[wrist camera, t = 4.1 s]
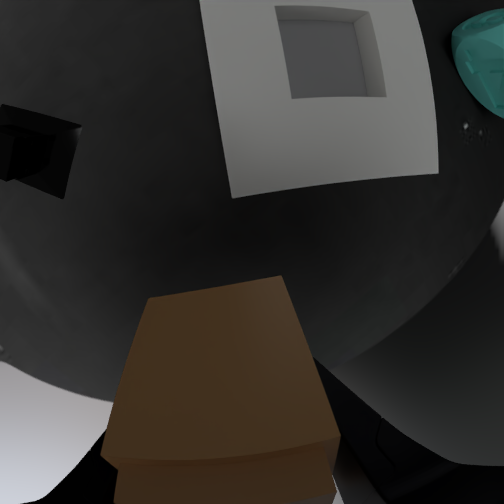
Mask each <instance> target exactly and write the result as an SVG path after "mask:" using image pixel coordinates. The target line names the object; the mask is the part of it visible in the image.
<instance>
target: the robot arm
mask: <svg viewBox="0 0 504 504" xmlns="http://www.w3.org/2000/svg"><path fill="white" fill-rule="evenodd" d="M313 360H314V363H315V366H316V368H317V371H318V374H319V376H320V379H321V382H322V385H323V387H324V390H325V393H326V396H327V398H328V401H329V404H330V407H331V409H332V412H333V415H334V418H335V421H336V423H337V426H338V429H339V432H340V435H341V437H340V443H339V447H338V452H337V457H336V461H335V466H334V470H333V474H332V475H333V477H334V479H335V482H336V485H337V487H338V490H339V492H340V494H341V497H342V500H343V502H344V504H504V466H481V465H467V464H459V463H455V462H452V461H449V460H447V459H445V458H443V457H441V456H439V455H438V454H436V453H434V452H432V451H431V450H429V449H427V448H426V447H424V446H422V445H421V444H419V443H417V442H416V441H414V440H412V439H411V438H409V437H407V436H406V435H404V434H403V433H402V432H400V431H399V430H398V429H396V428H395V427H394V426H393V425H391V424H390V423H389V422H388V421H386V420H385V419H384V418H381V416H380V415H379V414H378V413H377V412H376V411H374V410H373V409H372V408H371V407H370V406H368V405H367V404H366V403H365V402H364V401H363V400H362V399H360V398H359V397H358V396H357V395H356V394H355V393H353V392H352V391H351V390H350V389H349V388H348V387H346V386H345V385H344V384H343V383H342V382H341V381H340V380H338V379H337V378H336V377H335V376H334V375H333V374H332V373H331V372H329V371H328V370H327V369H326V368H325V367H324V366H323V365H321V364H320V363H319V362H318V361H317V360H316V359H315V358H314V357H313ZM105 433H106V430H105V432H104V433H103V434H102V435H101V436H100V437H99V439H98V440H97V441H96V442H95V444H94V445H93V446H92V447H91V449H90V450H89V451H88V452H87V454H86V455H85V456H84V457H83V458H82V460H81V461H80V462H79V463H78V464H77V465H76V467H75V468H74V469H73V470H72V471H71V472H70V473H69V474H68V475H67V476H66V477H65V478H64V479H63V480H62V481H61V482H60V483H59V484H58V485H57V486H56V487H55V488H54V489H53V490H52V491H51V492H50V493H48V494H47V495H46V496H45V497H43V498H41V499H39V500H37V501H33V502H28V503H23V504H115V503H113V502H114V495H115V488H116V482H117V475H118V470H117V469H116V468H115V467H114V466H113V465H111V464H110V463H109V462H108V461H107V460H105V459H104V458H103V457H102V456H101V455H100V454H101V450H102V446H103V441H104V437H105Z"/></svg>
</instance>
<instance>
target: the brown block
mask: <svg viewBox="0 0 504 504" xmlns="http://www.w3.org/2000/svg"><path fill="white" fill-rule="evenodd" d="M340 437H341V435H340V432H339V429H338V426H337V423H336V421H335V418H334V415H333V412H332V409H331V407H330V404H329V401H328V398H327V396H326V393H325V390H324V387H323V385H322V382H321V379H320V376H319V374H318V371H317V368H316V366H315V363H314V360H313V357H312V355H311V352H310V349H309V347H308V344H307V341H306V339H305V336H304V333H303V331H302V328H301V325H300V323H299V320H298V318H297V315H296V312H295V310H294V307H293V304H292V302H291V299H290V297H289V294H288V291H287V289H286V286H285V284H284V281H283V278H282V276H281V275H280V276H275V277H270V278H264V279H259V280H253V281H248V282H242V283H237V284H231V285H226V286H220V287H214V288H208V289H202V290H197V291H191V292H185V293H178V294H172V295H166V296H160V297H153V298H148V301H147V304H146V306H145V309H144V312H143V314H142V317H141V320H140V323H139V325H138V328H137V331H136V334H135V337H134V340H133V343H132V346H131V348H130V351H129V354H128V358H127V361H126V364H125V367H124V370H123V373H122V376H121V380H120V383H119V386H118V390H117V393H116V396H115V400H114V403H113V407H112V411H111V414H110V418H109V422H108V425H107V429H106V433H105V437H104V441H103V446H102V450H101V454H100V455H101V456H102V457H103V458H104V459H105V460H107V461H108V462H109V463H110V464H111V465H113V466H114V467H115V468H116V469H117V470H118V475H117V482H116V488H115V495H114V502H113V503H115V504H332V503H333V500H334V497H335V495H336V493H337V490H336V487H335V483H334V480H333V477H332V474H333V470H334V466H335V461H336V457H337V452H338V447H339V443H340Z"/></svg>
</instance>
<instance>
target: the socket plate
mask: <svg viewBox="0 0 504 504" xmlns="http://www.w3.org/2000/svg"><path fill="white" fill-rule="evenodd" d="M199 1H200V7H201V14H202V20H203V27H204V33H205V39H206V46H207V52H208V58H209V64H210V71H211V77H212V83H213V89H214V95H215V101H216V107H217V113H218V119H219V125H220V131H221V137H222V143H223V149H224V155H225V161H226V166H227V172H228V178H229V184H230V189H231V195H232V198H237V197H243V196H249V195H255V194H261V193H267V192H274V191H280V190H287V189H294V188H301V187H308V186H315V185H323V184H331V183H339V182H347V181H356V180H365V179H375V178H385V177H396V176H407V175H420V174H435V173H438V142H437V127H436V115H435V106H434V97H433V90H432V83H431V77H430V71H429V66H428V60H427V55H426V51H425V46H424V42H423V38H422V34H421V30H420V26H419V22H418V19H417V15H416V12H415V9H414V6H413V3H412V0H199Z"/></svg>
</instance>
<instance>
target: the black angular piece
mask: <svg viewBox="0 0 504 504" xmlns="http://www.w3.org/2000/svg"><path fill="white" fill-rule="evenodd" d="M81 130H82V126H81V125H79V124H76V123H72V122H69V121H65V120H62V119H58V118H55V117H51V116H48V115H44V114H40V113H36V112H33V111H29V110H25V109H21V108H17V107H13V106H8V105H4V104H2V105H1V107H0V179H2V180H4V181H6V182H7V181H10V180H12V179H16V180H18V181H20V182H22V183H25V184H27V185H29V186H32V187H34V188H37V189H39V190H41V191H44V192H46V193H48V194H51V195H53V196H56V197H58V198H60V199H64V196H65V191H66V186H67V182H68V177H69V173H70V169H71V165H72V161H73V157H74V153H75V150H76V146H77V143H78V139H79V136H80V133H81Z"/></svg>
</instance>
